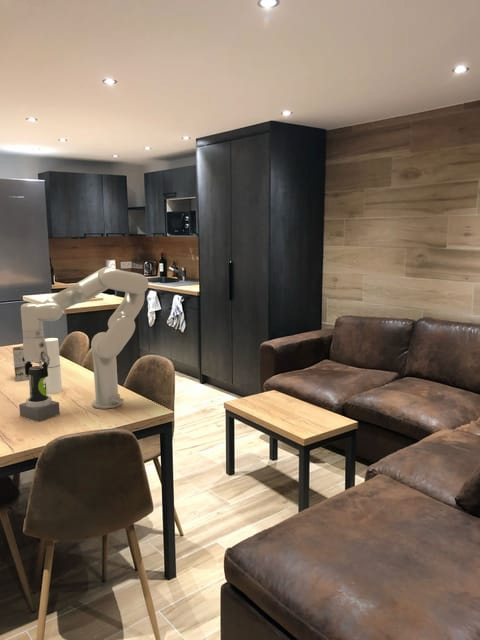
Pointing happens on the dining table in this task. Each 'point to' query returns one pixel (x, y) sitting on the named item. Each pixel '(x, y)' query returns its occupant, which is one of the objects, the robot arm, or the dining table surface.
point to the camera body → (39, 409)
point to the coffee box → (19, 364)
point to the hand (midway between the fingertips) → (36, 375)
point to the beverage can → (37, 385)
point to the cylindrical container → (53, 367)
